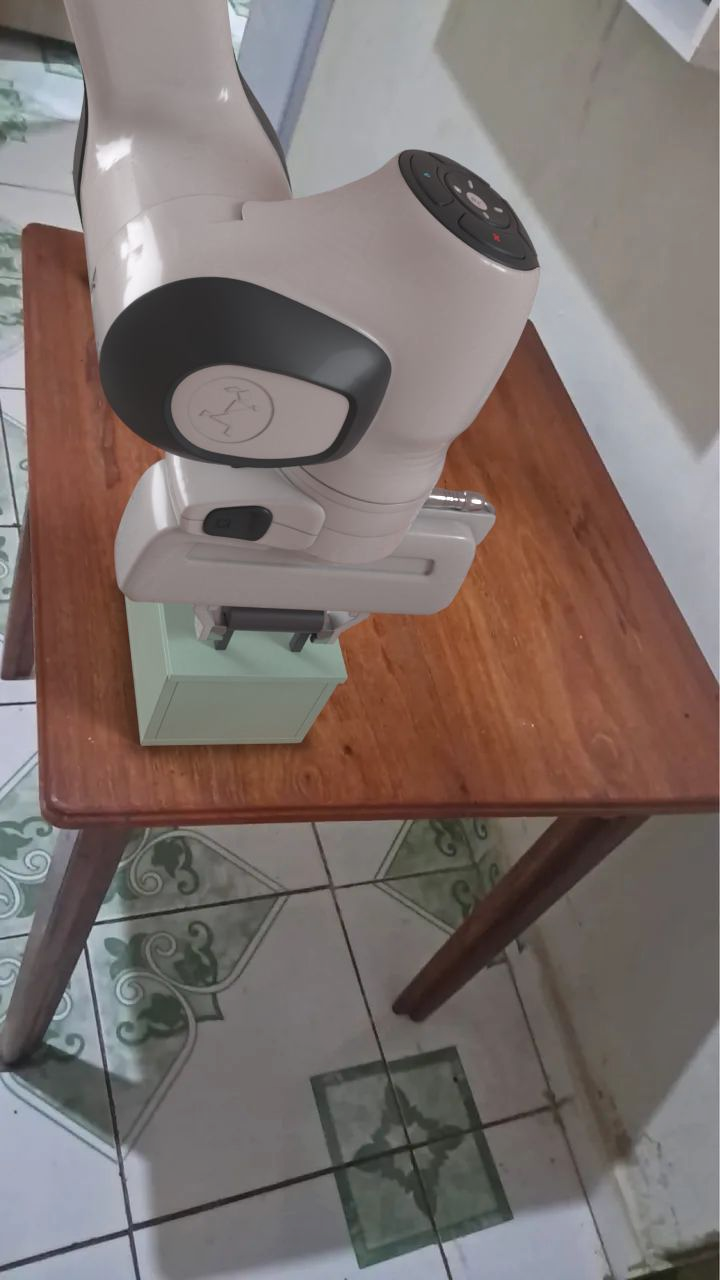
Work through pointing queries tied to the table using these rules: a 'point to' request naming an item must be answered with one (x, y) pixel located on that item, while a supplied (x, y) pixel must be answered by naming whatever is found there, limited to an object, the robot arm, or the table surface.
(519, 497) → the table surface
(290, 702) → the light green open box
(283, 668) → the lid
